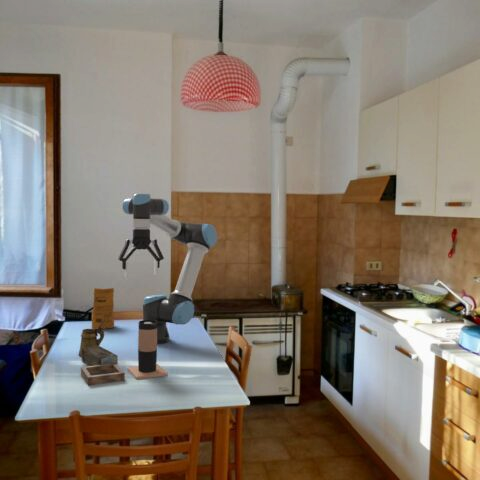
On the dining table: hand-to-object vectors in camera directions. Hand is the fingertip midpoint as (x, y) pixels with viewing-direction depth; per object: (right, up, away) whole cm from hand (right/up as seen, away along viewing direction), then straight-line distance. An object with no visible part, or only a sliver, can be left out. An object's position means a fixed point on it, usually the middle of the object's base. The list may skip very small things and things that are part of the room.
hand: (141, 276), depth 238 cm
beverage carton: (-16, -38, -11) cm, 42 cm away
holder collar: (-10, -38, -27) cm, 48 cm away
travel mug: (+6, -37, -20) cm, 43 cm away
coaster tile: (+6, -38, -20) cm, 43 cm away
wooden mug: (-22, -36, +5) cm, 43 cm away
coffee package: (-32, -33, +58) cm, 74 cm away
